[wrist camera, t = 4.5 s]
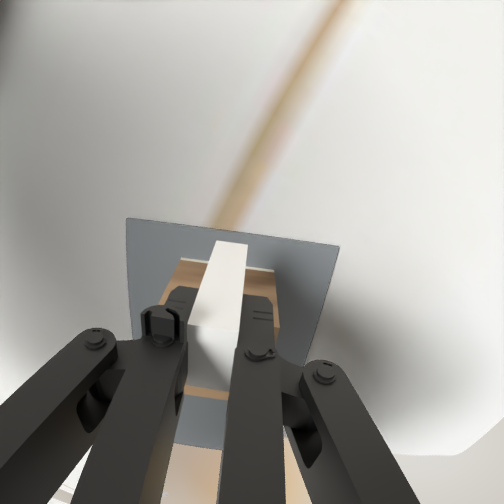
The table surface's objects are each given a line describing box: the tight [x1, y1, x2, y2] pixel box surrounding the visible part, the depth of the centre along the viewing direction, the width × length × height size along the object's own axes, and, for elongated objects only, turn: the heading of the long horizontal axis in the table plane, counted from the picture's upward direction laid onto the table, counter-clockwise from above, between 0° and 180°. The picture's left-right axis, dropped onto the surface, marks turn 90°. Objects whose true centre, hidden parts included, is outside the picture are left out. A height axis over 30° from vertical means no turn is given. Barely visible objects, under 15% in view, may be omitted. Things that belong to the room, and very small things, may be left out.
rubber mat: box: [126, 218, 339, 450], centre depth 28 cm, size 30×16×1 cm, turn 172°
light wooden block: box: [158, 257, 280, 400], centre depth 21 cm, size 7×7×7 cm
